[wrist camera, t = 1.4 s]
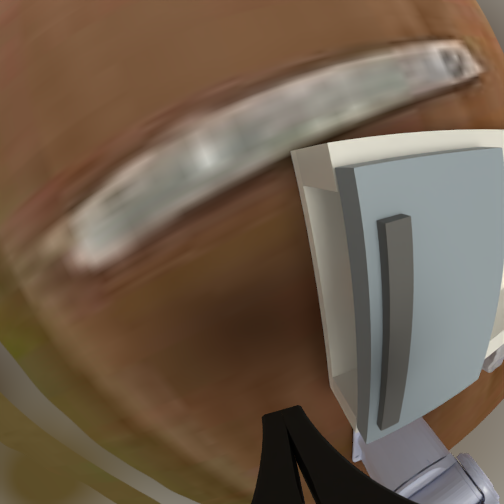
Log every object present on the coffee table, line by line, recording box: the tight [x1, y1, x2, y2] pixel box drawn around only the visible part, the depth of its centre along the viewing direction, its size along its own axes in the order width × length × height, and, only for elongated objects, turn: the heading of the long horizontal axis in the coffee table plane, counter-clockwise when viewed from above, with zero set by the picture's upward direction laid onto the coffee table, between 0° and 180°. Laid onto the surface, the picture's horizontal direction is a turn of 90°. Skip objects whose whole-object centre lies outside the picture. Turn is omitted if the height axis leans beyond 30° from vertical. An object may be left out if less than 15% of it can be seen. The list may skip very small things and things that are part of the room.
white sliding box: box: [290, 129, 504, 433], centre depth 16 cm, size 18×24×6 cm
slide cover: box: [335, 147, 504, 444], centre depth 12 cm, size 16×10×2 cm, turn 13°
